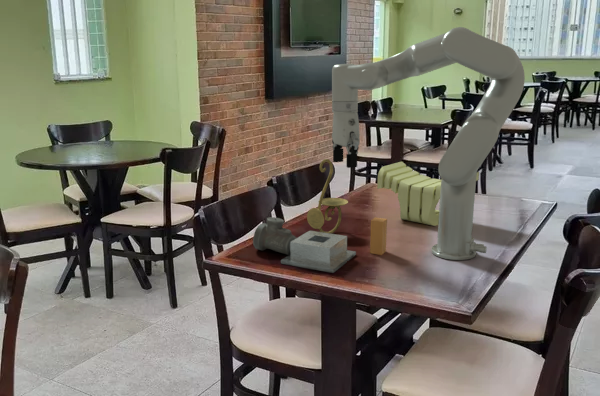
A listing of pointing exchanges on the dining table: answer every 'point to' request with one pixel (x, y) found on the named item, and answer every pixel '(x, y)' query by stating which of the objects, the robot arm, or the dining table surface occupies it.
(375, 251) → the orange rectangular block
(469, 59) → the robot arm
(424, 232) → the dining table surface
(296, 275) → the dining table surface
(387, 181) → the slatted curved stool
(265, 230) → the pipe fitting
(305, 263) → the square hole block
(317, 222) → the wall sconce
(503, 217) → the dining table surface
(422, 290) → the dining table surface
